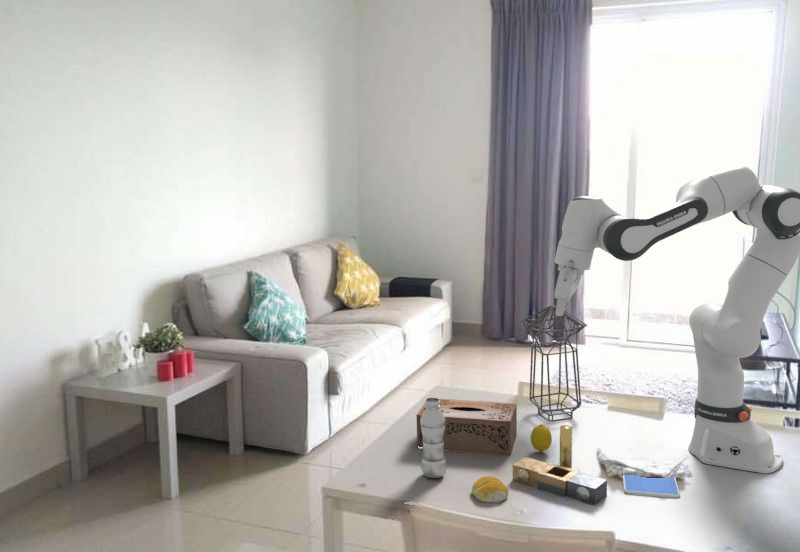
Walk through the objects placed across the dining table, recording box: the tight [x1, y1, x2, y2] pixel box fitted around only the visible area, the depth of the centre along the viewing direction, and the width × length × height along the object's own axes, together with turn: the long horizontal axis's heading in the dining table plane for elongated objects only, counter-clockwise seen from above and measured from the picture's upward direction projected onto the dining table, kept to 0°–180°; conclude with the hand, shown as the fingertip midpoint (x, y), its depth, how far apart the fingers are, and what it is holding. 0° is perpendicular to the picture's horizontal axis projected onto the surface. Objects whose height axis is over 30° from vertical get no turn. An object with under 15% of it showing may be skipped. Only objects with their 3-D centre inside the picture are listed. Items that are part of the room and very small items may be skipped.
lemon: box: [530, 423, 553, 453], centre depth 197 cm, size 6×6×8 cm
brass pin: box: [559, 424, 573, 469], centre depth 187 cm, size 3×3×11 cm
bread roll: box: [471, 475, 509, 504], centre depth 174 cm, size 8×9×4 cm
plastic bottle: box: [420, 397, 448, 479], centre depth 184 cm, size 6×7×20 cm
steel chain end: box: [537, 471, 608, 506], centre depth 174 cm, size 15×7×4 cm, turn 49°
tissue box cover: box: [416, 398, 518, 457], centre depth 205 cm, size 26×14×10 cm, turn 75°
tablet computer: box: [622, 475, 681, 499], centre depth 180 cm, size 19×13×1 cm, turn 166°
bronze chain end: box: [512, 456, 581, 489], centre depth 179 cm, size 15×7×4 cm, turn 49°
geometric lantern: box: [520, 304, 588, 422], centre depth 221 cm, size 16×16×35 cm
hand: (561, 312), depth 185 cm, fingers open, 8 cm apart
